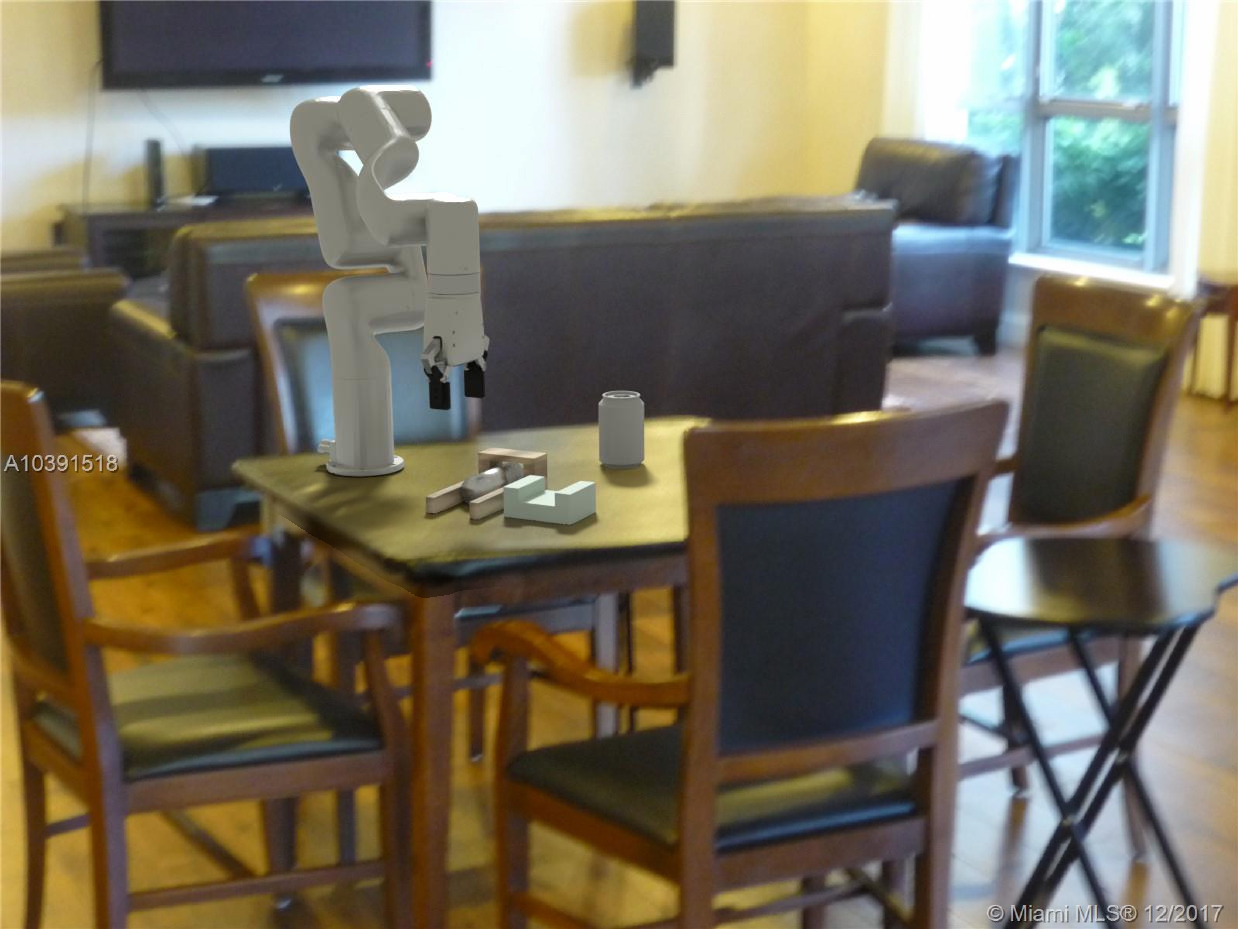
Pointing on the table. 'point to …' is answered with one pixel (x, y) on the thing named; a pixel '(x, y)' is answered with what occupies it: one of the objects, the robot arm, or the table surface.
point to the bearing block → (495, 500)
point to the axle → (490, 481)
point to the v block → (549, 501)
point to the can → (621, 429)
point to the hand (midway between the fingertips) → (457, 403)
